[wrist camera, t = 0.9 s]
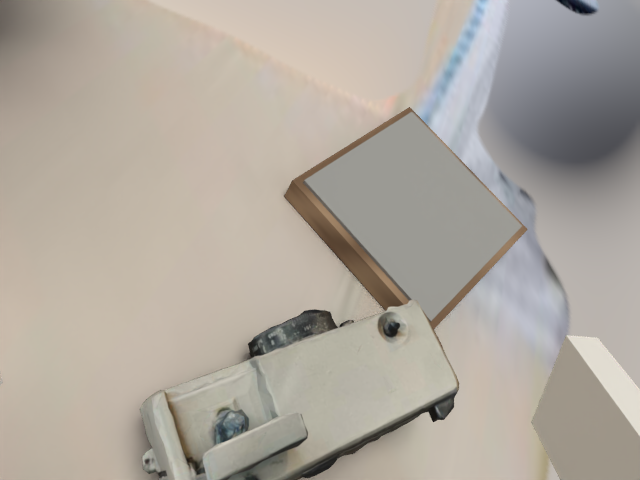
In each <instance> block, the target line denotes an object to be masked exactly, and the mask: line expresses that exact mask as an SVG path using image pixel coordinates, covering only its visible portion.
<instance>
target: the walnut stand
mask: <svg viewBox="0 0 640 480" xmlns="http://www.w3.org/2000/svg"><path fill="white" fill-rule="evenodd" d="M284 197H285V198H286V199H287V200H288V201H289V202H290V203H291V204H292V206H293V207H294V208H295V209H296V210H297V211H298V212H299V213H300V215H301V216H302V217H303V218H304V219H305V220H306V221H307V222H308V224H309V225H310V226H311V227H312V228H313V229H314V230H315V231H316V233H317V234H318V235H319V236H320V237H321V238H322V239H323V240H324V242H325V243H326V244H327V245H328V246H329V247H330V248H331V249H332V251H333V252H334V253H335V254H336V255H337V256H338V257H339V258H340V260H341V261H342V262H343V263H344V264H345V265H346V266H347V267H348V269H349V270H350V271H351V272H352V273H353V274H354V275H355V276H356V278H357V279H358V280H359V281H360V282H361V283H362V284H363V286H364V287H365V288H366V289H367V290H368V291H369V292H370V293H371V295H372V296H373V297H374V298H375V299H376V300H377V301H378V302H379V304H380V305H381V306H382V307H383V308H384V309H385V310H386V311H387V309H388V307H399V306H402V305H405V304H408V302H409V301H410V300H416V301H418V303H419V305H420V307H421V308H422V310H423V311H424V313H425V314H426V316H427V318H428V319H429V321H430V323H431V325H432V327H433V329H434V328H435V327H436V326H437V325H438V324H439V323H440V322H441V321H442V320H443V319H444V318H445V317H446V316H447V315H448V314H449V312H450V311H451V310H452V309H453V308H454V307H455V306H456V305H457V304H458V303H459V302H460V301H461V300H462V299H463V298H464V297H465V295H466V294H467V293H468V292H469V291H470V290H471V289H472V288H473V287H474V286H475V285H476V284H477V283H478V282H479V281H480V279H481V278H482V277H483V276H484V275H485V274H486V273H487V272H488V271H489V270H490V269H491V268H492V267H493V266H494V265H495V264H496V262H497V261H498V260H499V259H500V258H501V257H502V256H503V255H504V254H505V253H506V252H507V251H508V250H509V249H510V248H511V247H512V245H513V244H514V243H515V242H516V241H517V240H518V239H519V238H520V237H521V236H522V235H523V234H524V233H525V232H526V231H527V228H526V227H525V226H524V225H523V224H522V223H521V222H520V221H519V220H518V219H517V218H516V217H515V216H514V215H513V214H512V213H511V212H510V211H509V210H508V209H507V208H506V207H505V205H504V204H503V203H502V202H501V201H500V200H499V199H498V198H497V197H496V196H495V195H494V194H493V193H492V192H491V191H490V190H489V189H488V188H487V187H486V186H485V185H484V184H483V183H482V182H481V181H480V180H479V178H478V177H477V176H476V175H475V174H474V173H473V172H472V171H471V170H470V169H469V168H468V167H467V166H466V165H465V164H464V163H463V162H462V161H461V160H460V159H459V158H458V157H457V156H456V155H455V154H454V153H453V152H452V150H451V149H450V148H449V147H448V146H447V145H446V144H445V143H444V142H443V141H442V140H441V139H440V138H439V137H438V136H437V135H436V134H435V133H434V132H433V131H432V130H431V129H430V128H429V127H428V126H427V125H426V124H425V122H424V121H423V120H422V119H421V118H420V117H419V116H418V115H417V114H416V113H415V112H414V111H413V110H412V109H411V108H410V107H409V108H407V109H406V110H404V111H403V112H401V113H399V114H398V115H396V116H395V117H393V118H391V119H390V120H388V121H387V122H385V123H383V124H382V125H380V126H379V127H377V128H375V129H374V130H372V131H371V132H369V133H367V134H366V135H364V136H363V137H361V138H360V139H358V140H356V141H355V142H353V143H352V144H350V145H348V146H347V147H345V148H344V149H342V150H340V151H339V152H337V153H336V154H334V155H332V156H331V157H329V158H328V159H326V160H324V161H323V162H321V163H320V164H318V165H316V166H315V167H313V168H312V169H310V170H308V171H307V172H305V173H304V174H302V175H300V176H299V177H297V178H296V179H294V180H292V182H291V184H290V186H289V188H288V190H287V192H286V194H285V196H284Z"/></svg>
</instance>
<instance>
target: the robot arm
mask: <svg viewBox="0 0 640 480" xmlns="http://www.w3.org/2000/svg"><path fill="white" fill-rule="evenodd" d="M1 384H2V378H1V373H0V385H1ZM531 423H532V425H533V427H534V429H535V431H536V433H537V435H538V437H539V439H540V441H541V442H542V444H543V446H544V448H545V450H546V452H547V454H548V456H549V458H550V460H551V462H552V464H553V466H554V468H555V470H556V472H557V474H558V476H559V478H560V480H640V389H639V388H638V387H637V386H636V385H635V383H634V382H633V381H632V380H631V378H630V377H629V376H628V375H627V374H626V372H625V371H624V370H623V368H622V367H621V366H620V365H619V364H618V362H617V361H616V360H615V359H614V357H612V355H611V354H610V352H609V351H608V350H607V349H606V348H605V346H604V345H603V344H602V343H601V341H600V340H599V339H598V338H593V337H580V336H570V335H566V337H565V339H564V342H563V344H562V347H561V349H560V352H559V354H558V357H557V359H556V362H555V364H554V367H553V369H552V372H551V374H550V377H549V379H548V382H547V384H546V387H545V389H544V392H543V394H542V397H541V399H540V402H539V404H538V407H537V410H536V412H535V415H534V417H533V420H532V422H531Z"/></svg>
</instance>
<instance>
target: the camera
mask: <svg viewBox="0 0 640 480" xmlns="http://www.w3.org/2000/svg"><path fill="white" fill-rule="evenodd" d="M248 345H249V349H250V353H251V356H252V358H251V359H249V360H246V361H244V362H241V363H239V364H236V365H234V366H231V367H227V368H224V369H221V370H218V371H216V372H213V373H210V374H207V375H205V376H202V377H199V378H197V379H194V380H191V381H188V382H186V383H183V384H180V385H177V386H174V387H172V388H170V389H167V390H160V391H158V392H156V393H155V394H153V395H152V396H150V397H149V398H148V399H146V401H145V402H144V403H143V404H142V406H141V408H140V412H141V415H142V419H143V422H144V425H145V430H146V435H147V437H148V440H149V442H150V444H151V447H152V448H151V449H150V450H149V451H147V452H146V453H145V454H144V455H143V457H142V462H143V470H145V471H146V472H148V473H149V474H150V473H154V472H156V473H158V474H159V476H160V477H159V480H297V479H300V478H302V477H305V478H310V477H313V476H315V475H317V474H319V473H321V472H323V471H325V470H327V469H329V468H330V467H331V466H332V465H333V464H334V463H335V462H336V460H337V458H340V457H342V456H344V455H349V454H353V453H355V452H356V451H358V450H359V449H360V448H362V447H363V446H364V445H366V444H367V443H369V442H372V441H375V440H378V439H379V438H380V437H381V436H382V435H385V434H387V433H389V432H392V431H394V430H395V429H397V428H399V427H401V426H403V425H405V424H407V423H408V422H410V421H412V420H413V419H415V418H416V417H418V416H419V415H420V414H422V413H425V412H428V411H429V414H430V416H431V418H432V421H433V422H435V421H437V420H444V419H445V418H446V416H447V415H448V414H449V413H450V412H451V410H452V409H453V408H454V397H455V395H456V393H457V392H458V389H459V382H458V379H457V377H456V374H455V372H454V371H453V369H452V367H451V365H450V363H449V361H448V359H447V357H446V355H445V353H444V350H443V347H442V345H441V343H440V341H439V339H438V337H437V335H436V333H435V331H434V329H433V327H432V325H431V323H430V321H429V319H428V318H427V316H426V314H425V313H424V311H423V310H422V308H421V307H420V305H419V303H418V301H416V300H410V301H409V302H408V304H405V305H402V306H399V307H388V309H387V311H385V312H383V313H380V314H377V315H373V316H370V317H368V318H365V319H362V320H360V321H357V322H354V321H353V320H348V321H346V322H344V323H342V324H341V325H340V326H339V328H338V327H337V326H336V325H335V323H334V321H333V319H332V316H331V313H330V312H328V311H325V310H324V311H322V310H307V311H304V312H303V313H302V314H300V315H299V316H297V317H295V318H292V319H290V320H288V321H286V322H284V323H282V324H280V325H277V326H274V327H271V328H269V329H268V330H266V331H264V332H262V333H261V334H259V335H257V336H256V337H254V339H253V340H252V341H251V342H250V343H249V344H248Z"/></svg>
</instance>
